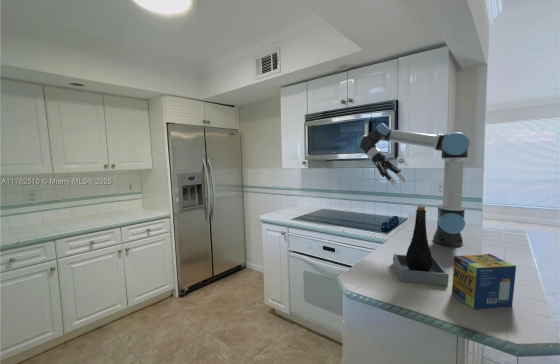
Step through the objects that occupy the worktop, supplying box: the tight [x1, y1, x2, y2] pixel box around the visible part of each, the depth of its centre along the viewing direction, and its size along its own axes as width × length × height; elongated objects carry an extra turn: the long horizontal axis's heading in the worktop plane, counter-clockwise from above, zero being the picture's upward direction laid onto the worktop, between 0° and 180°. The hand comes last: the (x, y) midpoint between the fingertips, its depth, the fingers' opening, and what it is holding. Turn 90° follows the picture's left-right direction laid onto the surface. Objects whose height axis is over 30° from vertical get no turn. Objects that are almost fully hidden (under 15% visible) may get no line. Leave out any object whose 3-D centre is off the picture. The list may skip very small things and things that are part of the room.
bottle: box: [405, 205, 433, 272], centre depth 115 cm, size 11×11×30 cm
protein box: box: [451, 253, 517, 310], centre depth 95 cm, size 10×15×16 cm
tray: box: [392, 253, 449, 287], centre depth 117 cm, size 18×18×5 cm
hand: (400, 182), depth 146 cm, fingers open, 13 cm apart
